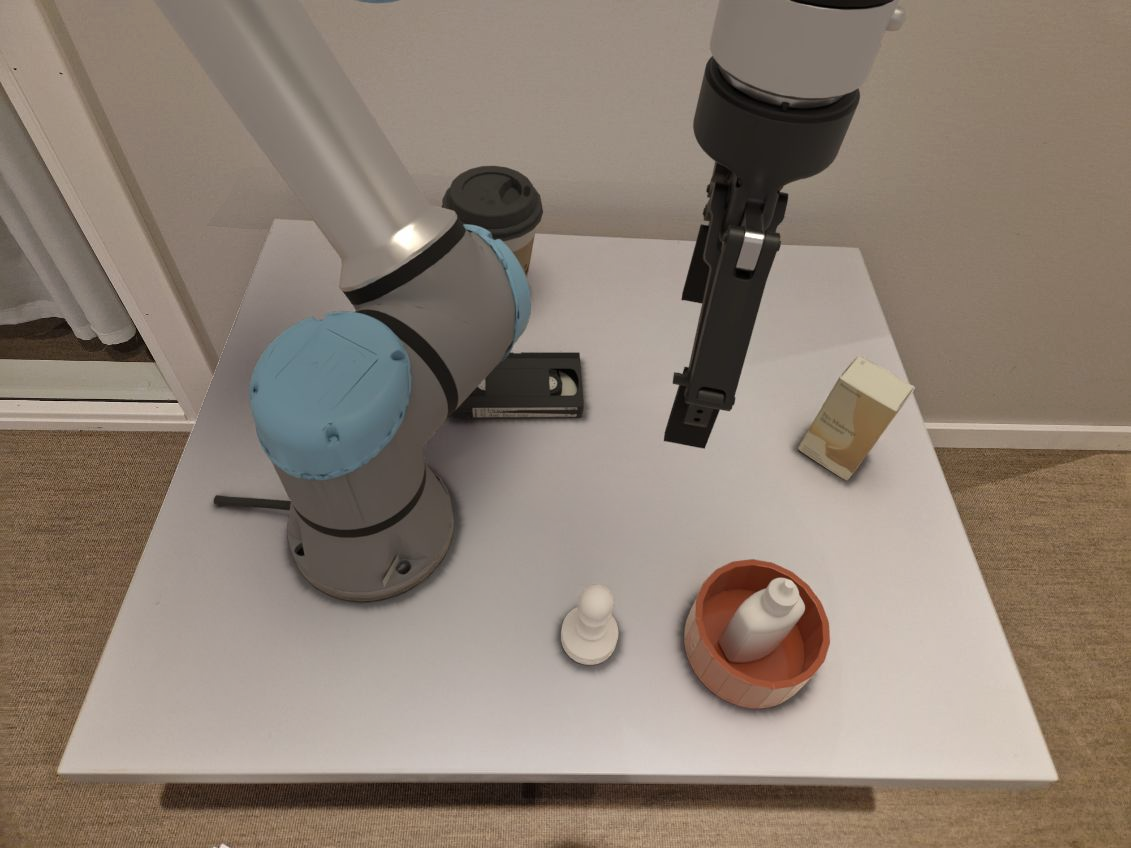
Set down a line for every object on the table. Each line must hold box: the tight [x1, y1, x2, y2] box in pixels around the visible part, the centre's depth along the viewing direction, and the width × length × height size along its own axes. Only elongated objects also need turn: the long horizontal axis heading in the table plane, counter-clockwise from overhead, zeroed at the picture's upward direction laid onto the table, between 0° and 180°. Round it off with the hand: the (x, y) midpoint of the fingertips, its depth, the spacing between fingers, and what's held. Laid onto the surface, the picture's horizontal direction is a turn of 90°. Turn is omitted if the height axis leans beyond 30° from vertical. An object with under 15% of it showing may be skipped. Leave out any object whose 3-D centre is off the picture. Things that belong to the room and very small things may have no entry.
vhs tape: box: [451, 351, 585, 419], centre depth 81 cm, size 14×8×2 cm, turn 93°
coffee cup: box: [441, 165, 544, 279], centre depth 85 cm, size 11×11×15 cm
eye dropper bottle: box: [719, 578, 805, 663], centre depth 60 cm, size 4×6×12 cm
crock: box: [683, 558, 831, 710], centre depth 63 cm, size 11×11×6 cm
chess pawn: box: [560, 584, 619, 666], centre depth 61 cm, size 5×5×9 cm
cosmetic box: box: [797, 354, 916, 482], centre depth 74 cm, size 6×4×12 cm
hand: (692, 364), depth 52 cm, fingers open, 13 cm apart
